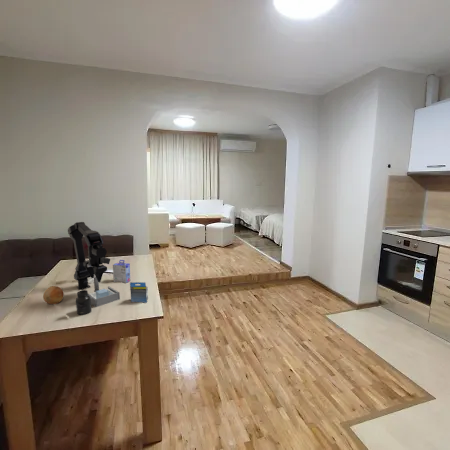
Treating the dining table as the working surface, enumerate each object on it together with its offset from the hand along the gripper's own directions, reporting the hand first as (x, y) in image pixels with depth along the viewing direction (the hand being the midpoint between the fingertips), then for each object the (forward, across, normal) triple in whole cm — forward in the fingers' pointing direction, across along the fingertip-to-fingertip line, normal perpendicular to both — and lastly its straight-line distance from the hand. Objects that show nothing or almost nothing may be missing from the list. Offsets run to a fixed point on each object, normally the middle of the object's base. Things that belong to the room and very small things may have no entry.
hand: (96, 280), depth 162 cm
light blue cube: (+10, -7, 0) cm, 12 cm away
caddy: (+10, -6, 0) cm, 12 cm away
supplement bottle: (+11, -15, +13) cm, 23 cm away
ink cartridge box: (+11, +13, -22) cm, 28 cm away
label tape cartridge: (+11, -23, -14) cm, 29 cm away
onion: (+11, +9, +20) cm, 24 cm away
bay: (+10, -7, 0) cm, 13 cm away
